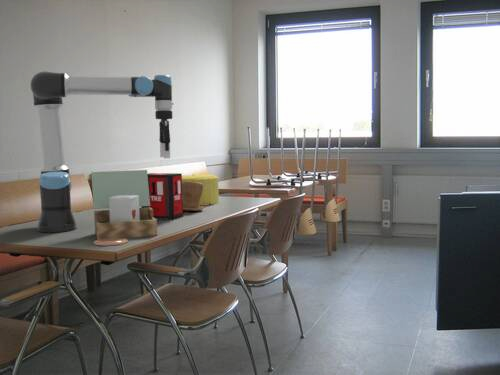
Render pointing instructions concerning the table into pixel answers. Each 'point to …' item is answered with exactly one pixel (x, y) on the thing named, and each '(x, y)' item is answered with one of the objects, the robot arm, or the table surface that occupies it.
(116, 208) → the supplement box
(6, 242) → the table surface
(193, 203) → the brown tapered block
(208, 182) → the cheese
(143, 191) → the sage green board
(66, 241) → the table surface
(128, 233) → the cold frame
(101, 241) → the tan round disc
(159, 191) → the cleaning product box
